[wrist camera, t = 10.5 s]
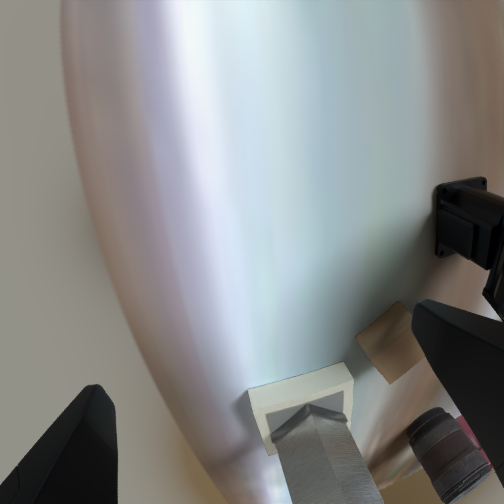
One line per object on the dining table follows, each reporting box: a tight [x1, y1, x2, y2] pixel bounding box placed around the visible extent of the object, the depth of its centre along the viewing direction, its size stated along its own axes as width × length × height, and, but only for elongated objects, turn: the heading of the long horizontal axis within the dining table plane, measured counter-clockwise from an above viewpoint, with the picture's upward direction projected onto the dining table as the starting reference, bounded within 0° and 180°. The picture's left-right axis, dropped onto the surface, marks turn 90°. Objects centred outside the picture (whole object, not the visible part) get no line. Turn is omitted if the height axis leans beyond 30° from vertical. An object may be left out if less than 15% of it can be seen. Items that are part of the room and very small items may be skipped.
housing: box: [270, 403, 384, 504], centre depth 20 cm, size 5×5×12 cm
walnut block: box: [354, 302, 425, 384], centre depth 25 cm, size 5×5×4 cm
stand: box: [248, 362, 354, 456], centre depth 27 cm, size 9×9×3 cm
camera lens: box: [407, 407, 492, 504], centre depth 29 cm, size 8×8×15 cm
